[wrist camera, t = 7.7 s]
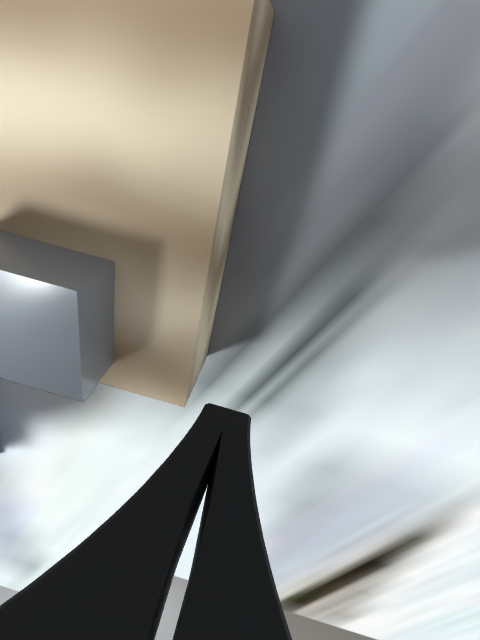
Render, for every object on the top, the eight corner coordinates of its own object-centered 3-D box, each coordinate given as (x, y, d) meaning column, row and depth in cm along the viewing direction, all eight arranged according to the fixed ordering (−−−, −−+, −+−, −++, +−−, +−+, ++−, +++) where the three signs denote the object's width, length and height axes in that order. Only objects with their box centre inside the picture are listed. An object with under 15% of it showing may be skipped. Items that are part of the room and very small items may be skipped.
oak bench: (206, 356, 20) (184, 407, 17) (-90, 272, 21) (-169, 305, 17) (274, 11, 12) (258, -25, 8) (-218, -105, 13) (-411, -180, 9)
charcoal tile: (113, 362, 16) (82, 402, 14) (9, 332, 16) (-38, 367, 14) (114, 261, 13) (76, 291, 11) (-11, 227, 13) (-72, 249, 11)
